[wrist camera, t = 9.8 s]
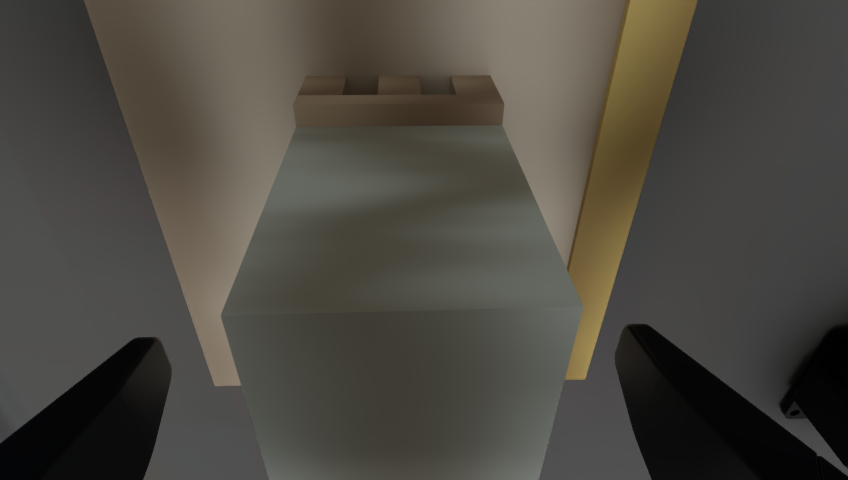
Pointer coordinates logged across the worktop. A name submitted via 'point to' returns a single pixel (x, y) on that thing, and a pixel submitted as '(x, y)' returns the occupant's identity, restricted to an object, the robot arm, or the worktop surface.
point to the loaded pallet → (401, 293)
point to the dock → (363, 64)
